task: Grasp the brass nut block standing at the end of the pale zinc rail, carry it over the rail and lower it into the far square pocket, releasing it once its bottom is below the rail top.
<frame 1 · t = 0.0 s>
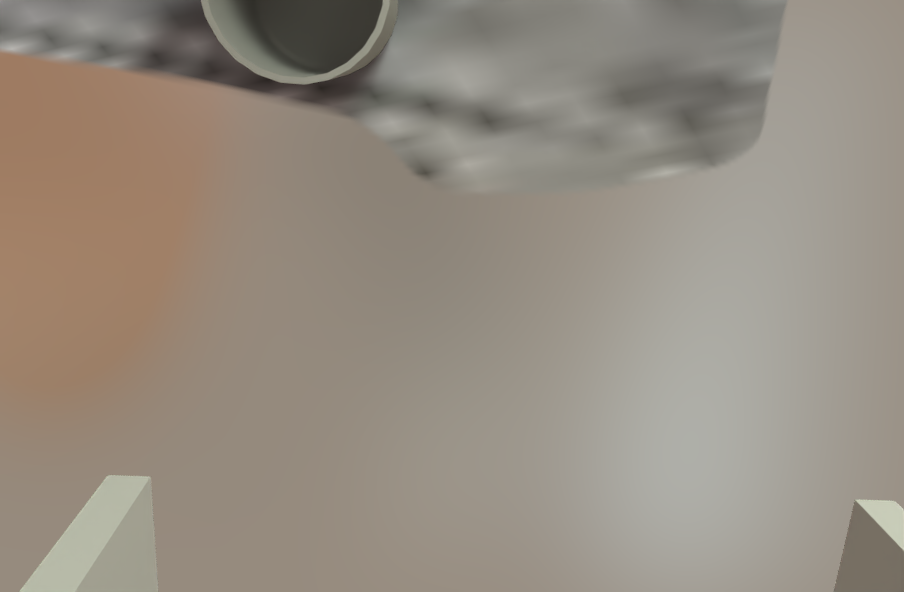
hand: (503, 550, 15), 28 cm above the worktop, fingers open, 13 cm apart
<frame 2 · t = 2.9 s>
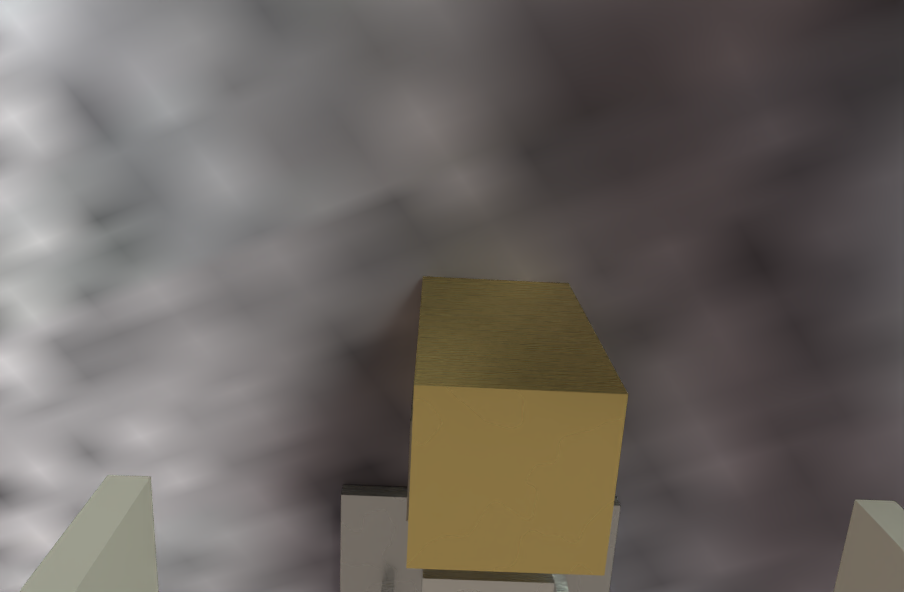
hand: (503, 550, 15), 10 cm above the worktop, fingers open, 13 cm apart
nut block: (490, 347, 24), on the worktop
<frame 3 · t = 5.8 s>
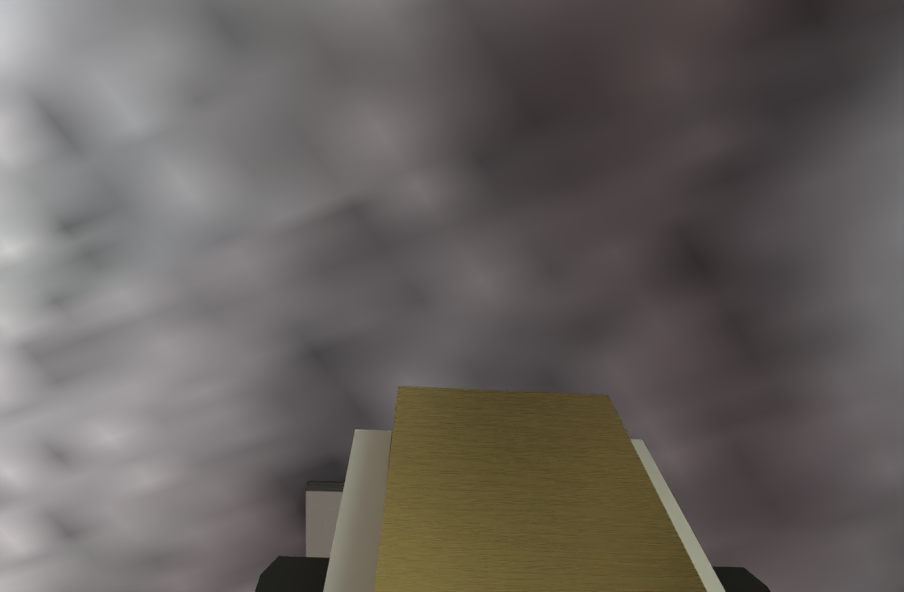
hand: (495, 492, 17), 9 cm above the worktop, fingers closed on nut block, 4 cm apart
nut block: (496, 483, 17), point 9 cm above the worktop, touching gripper
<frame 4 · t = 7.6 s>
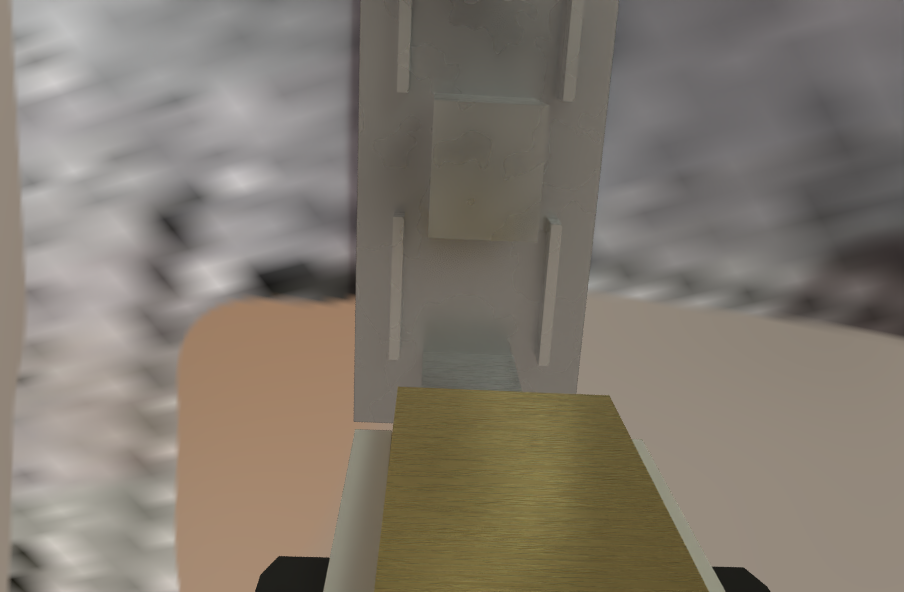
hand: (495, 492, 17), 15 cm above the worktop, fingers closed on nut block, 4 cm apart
rail: (479, 154, 30), on the worktop
nut block: (496, 484, 17), point 15 cm above the worktop, touching gripper
when the fingers open (3 cm above the worktop, at t = 9.8 s): nut block drops 2 cm, resting on rail.
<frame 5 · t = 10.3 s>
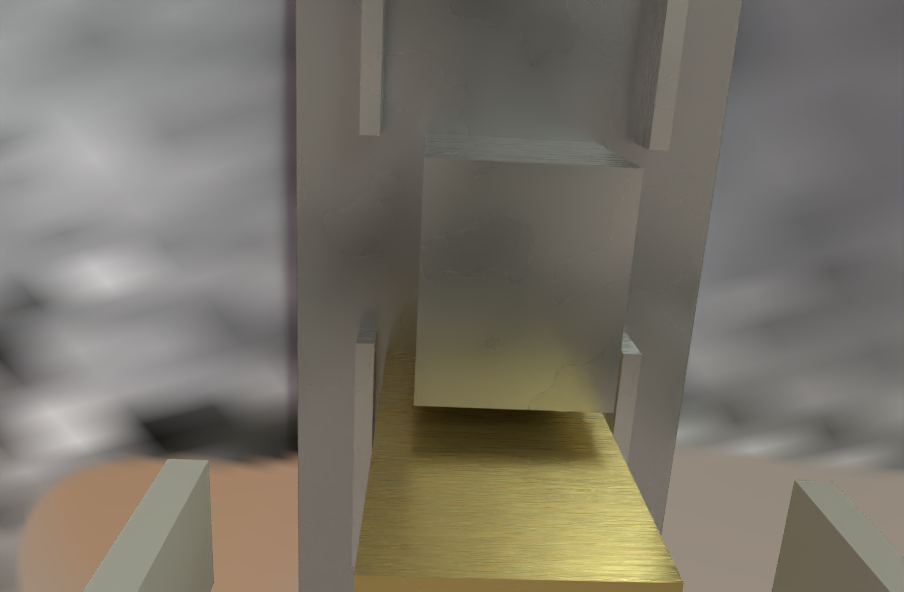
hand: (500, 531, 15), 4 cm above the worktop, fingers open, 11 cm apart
rail: (500, 233, 18), on the worktop
nut block: (476, 442, 19), point 1 cm above the worktop, touching rail
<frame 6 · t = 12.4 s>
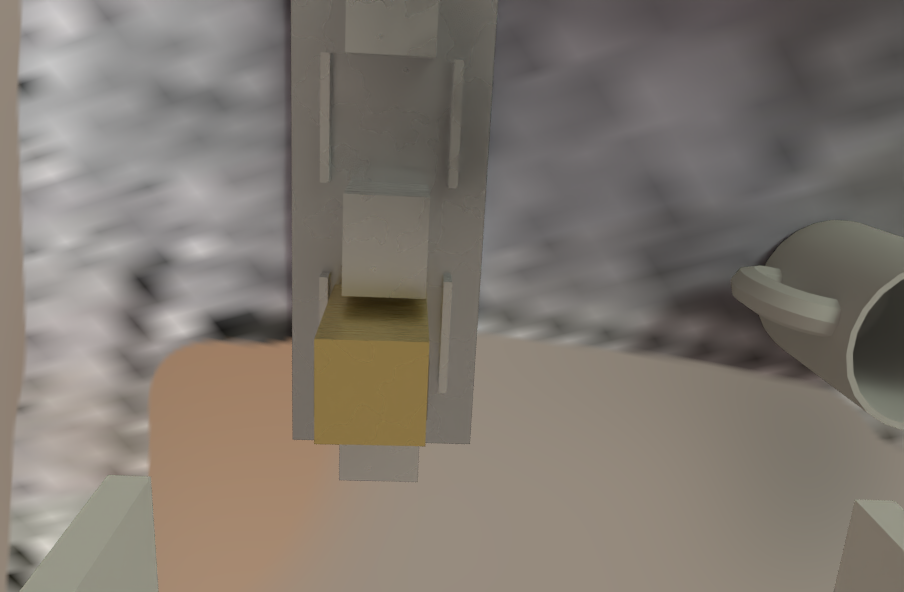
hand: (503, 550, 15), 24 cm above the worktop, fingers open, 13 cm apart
rail: (388, 226, 38), on the worktop
cup: (795, 282, 40), on the worktop
nut block: (379, 329, 38), point 1 cm above the worktop, touching rail
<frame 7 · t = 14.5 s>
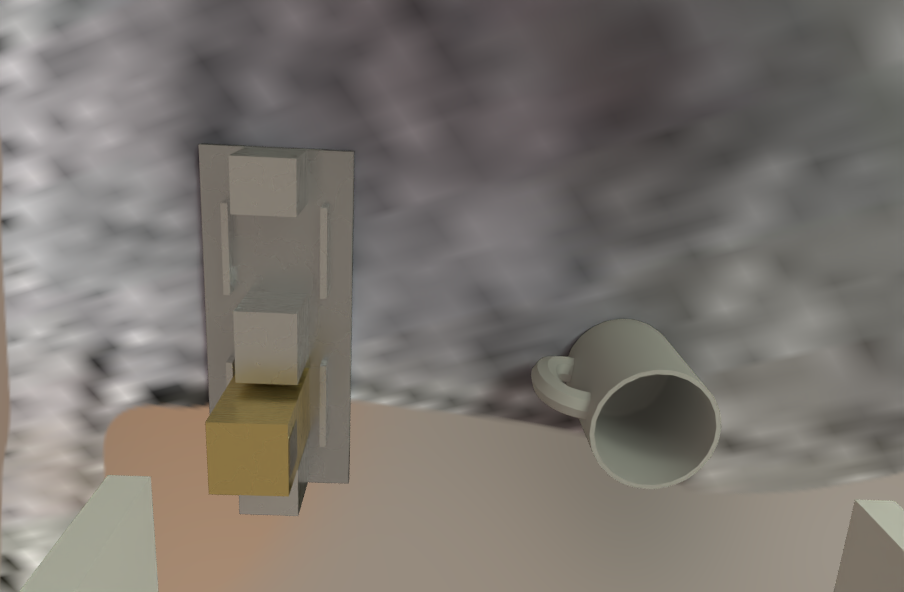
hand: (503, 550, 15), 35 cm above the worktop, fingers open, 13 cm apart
rail: (280, 322, 50), on the worktop
cup: (596, 363, 51), on the worktop
nut block: (275, 398, 51), point 1 cm above the worktop, touching rail
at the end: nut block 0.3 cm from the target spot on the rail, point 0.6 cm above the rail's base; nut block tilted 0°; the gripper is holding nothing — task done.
